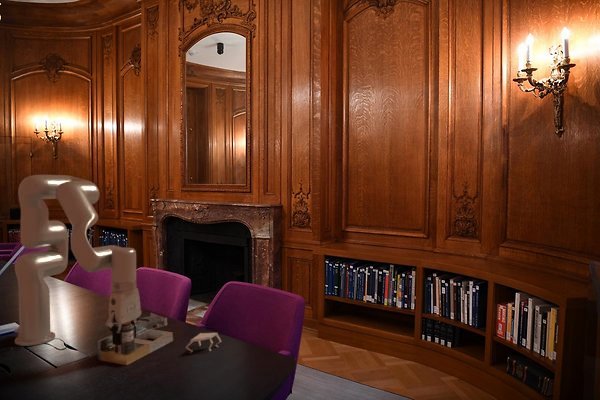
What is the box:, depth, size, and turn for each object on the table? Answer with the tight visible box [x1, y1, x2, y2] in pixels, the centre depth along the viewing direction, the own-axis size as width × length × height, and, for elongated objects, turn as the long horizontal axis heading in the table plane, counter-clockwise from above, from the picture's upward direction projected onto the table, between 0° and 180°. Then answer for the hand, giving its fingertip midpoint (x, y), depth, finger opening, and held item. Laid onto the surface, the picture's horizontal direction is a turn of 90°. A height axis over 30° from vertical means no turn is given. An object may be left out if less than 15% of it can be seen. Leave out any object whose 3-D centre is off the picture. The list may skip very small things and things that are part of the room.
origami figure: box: [185, 332, 222, 354], centre depth 156 cm, size 12×8×5 cm
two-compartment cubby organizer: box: [97, 321, 174, 366], centre depth 156 cm, size 12×24×6 cm, turn 160°
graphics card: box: [116, 312, 168, 330], centre depth 181 cm, size 17×4×12 cm
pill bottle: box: [115, 321, 135, 354], centre depth 149 cm, size 6×6×11 cm
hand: (124, 340), depth 149 cm, fingers closed on pill bottle, 6 cm apart
